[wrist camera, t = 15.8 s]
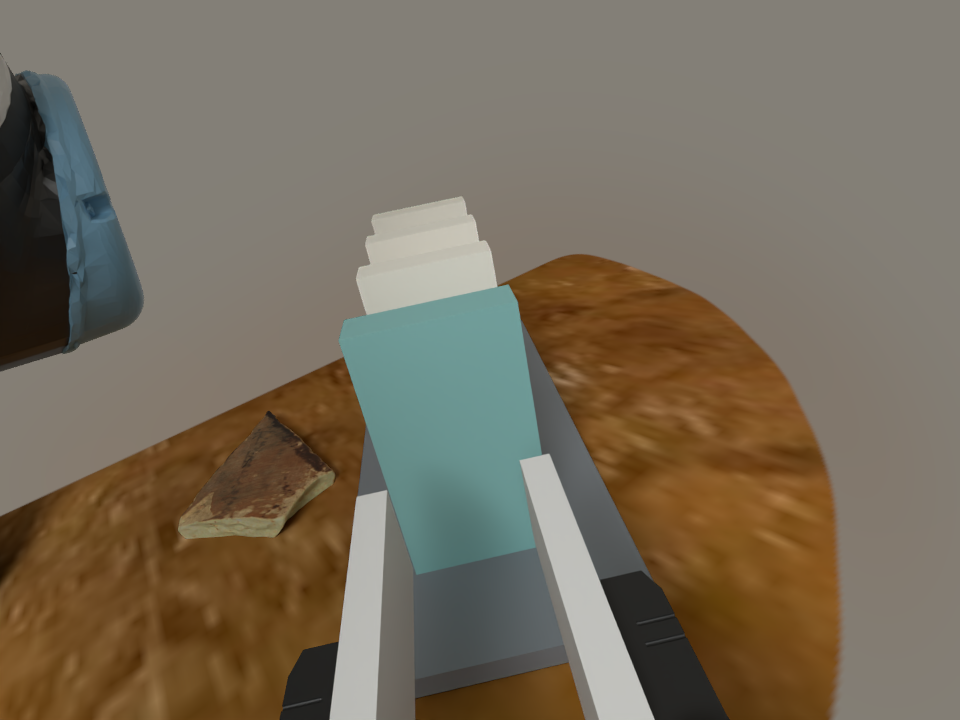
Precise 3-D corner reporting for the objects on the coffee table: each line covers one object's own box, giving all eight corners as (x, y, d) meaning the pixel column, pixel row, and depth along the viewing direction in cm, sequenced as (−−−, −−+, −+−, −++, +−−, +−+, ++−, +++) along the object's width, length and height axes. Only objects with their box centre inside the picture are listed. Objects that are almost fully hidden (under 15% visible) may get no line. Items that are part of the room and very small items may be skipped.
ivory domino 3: (414, 476, 29) (355, 279, 24) (414, 456, 30) (358, 267, 25) (526, 451, 29) (490, 250, 24) (520, 432, 31) (485, 240, 26)
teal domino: (416, 574, 23) (338, 340, 18) (415, 543, 24) (344, 319, 20) (556, 542, 23) (517, 301, 18) (546, 513, 25) (508, 284, 20)
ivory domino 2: (413, 415, 34) (364, 244, 29) (413, 401, 36) (367, 236, 31) (507, 395, 34) (475, 221, 29) (502, 381, 36) (471, 214, 31)
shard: (275, 427, 39) (266, 406, 38) (375, 421, 37) (368, 398, 36) (180, 546, 30) (165, 521, 29) (308, 544, 28) (297, 517, 27)
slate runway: (342, 715, 19) (333, 698, 19) (378, 362, 44) (374, 351, 44) (673, 637, 20) (672, 619, 19) (523, 331, 45) (521, 320, 44)
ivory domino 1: (412, 371, 39) (371, 220, 34) (412, 360, 41) (372, 214, 36) (493, 354, 40) (464, 201, 35) (490, 343, 41) (462, 196, 36)
